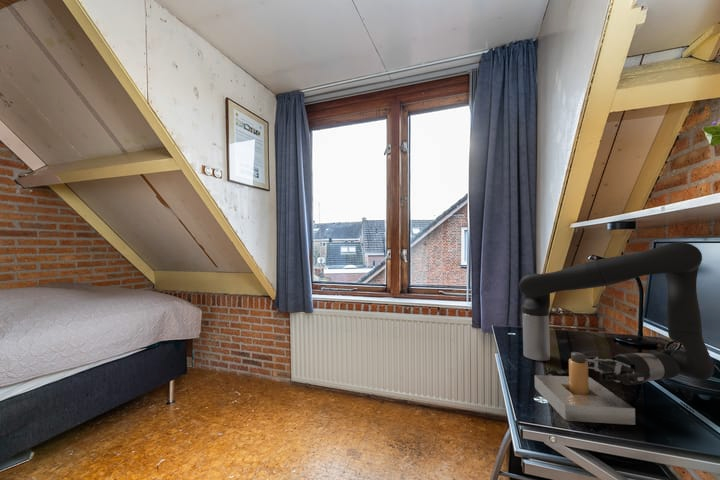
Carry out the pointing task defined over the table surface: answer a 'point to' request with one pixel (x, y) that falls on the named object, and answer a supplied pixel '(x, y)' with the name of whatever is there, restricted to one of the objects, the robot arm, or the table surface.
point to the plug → (578, 374)
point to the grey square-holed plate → (584, 401)
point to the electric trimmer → (558, 373)
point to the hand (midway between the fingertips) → (587, 370)
